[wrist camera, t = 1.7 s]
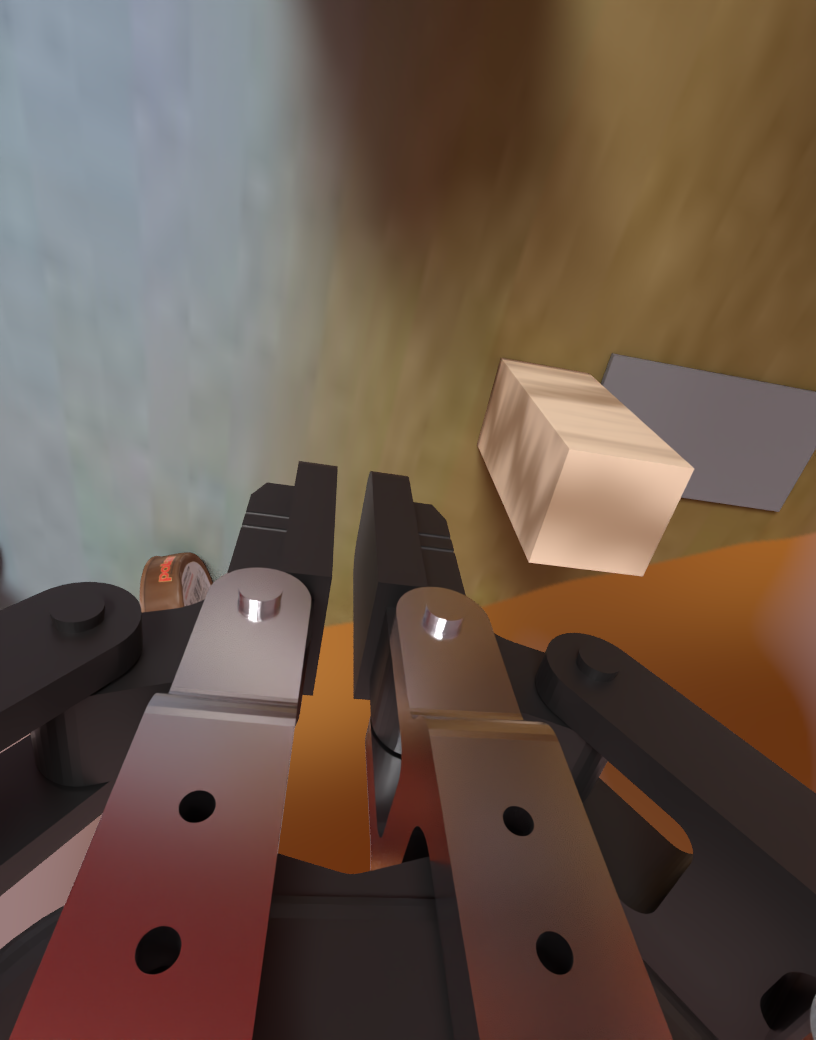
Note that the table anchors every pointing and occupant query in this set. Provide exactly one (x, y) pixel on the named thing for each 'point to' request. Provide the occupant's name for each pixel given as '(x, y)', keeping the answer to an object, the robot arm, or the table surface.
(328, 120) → the table surface
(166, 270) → the table surface
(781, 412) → the mat
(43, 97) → the table surface
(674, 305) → the table surface
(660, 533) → the block
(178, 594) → the tin
